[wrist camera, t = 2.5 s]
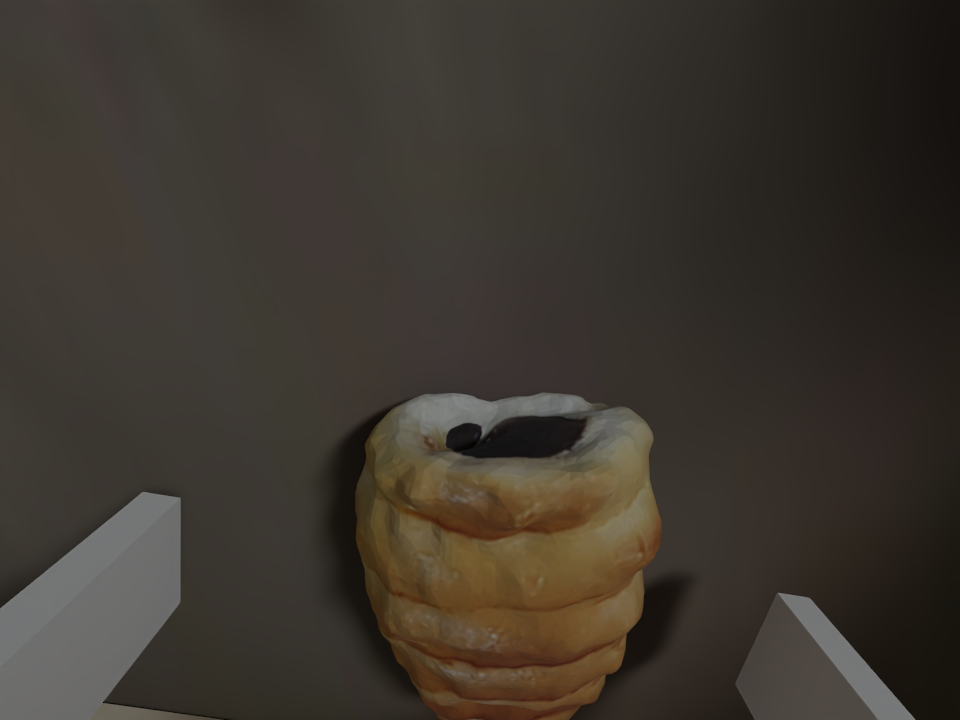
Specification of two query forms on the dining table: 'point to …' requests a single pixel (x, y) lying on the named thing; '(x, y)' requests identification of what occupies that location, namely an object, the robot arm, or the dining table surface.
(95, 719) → the serving board
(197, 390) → the dining table surface
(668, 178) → the dining table surface
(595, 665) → the pastry
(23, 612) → the robot arm
